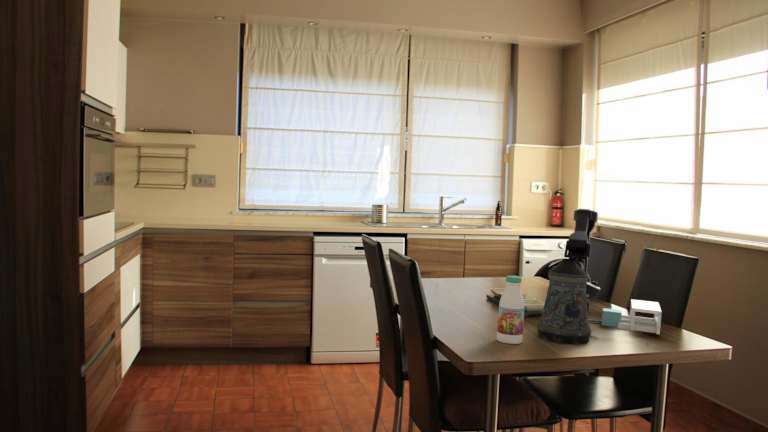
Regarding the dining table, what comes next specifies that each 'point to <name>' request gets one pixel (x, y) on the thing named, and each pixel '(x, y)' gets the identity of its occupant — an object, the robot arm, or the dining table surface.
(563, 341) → the beer stein
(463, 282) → the dining table surface
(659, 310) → the shelf
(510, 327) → the milk bottle
